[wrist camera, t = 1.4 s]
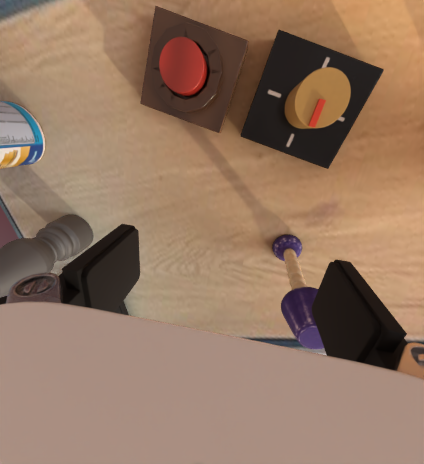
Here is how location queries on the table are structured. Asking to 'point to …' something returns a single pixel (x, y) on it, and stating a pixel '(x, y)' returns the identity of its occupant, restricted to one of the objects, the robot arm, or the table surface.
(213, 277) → the table surface
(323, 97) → the dimmer knob
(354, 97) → the dimmer
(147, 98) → the switch box
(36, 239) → the candle holder
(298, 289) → the toy lamp
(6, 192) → the table surface
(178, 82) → the power button
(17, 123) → the beverage bottle
